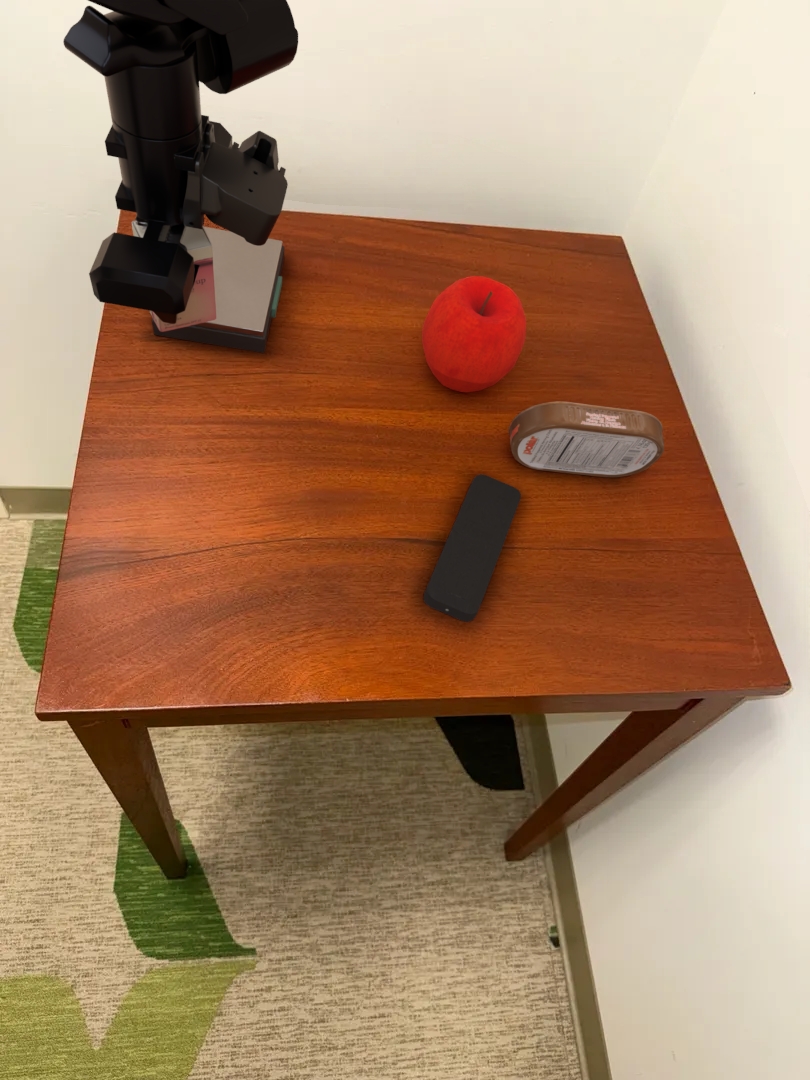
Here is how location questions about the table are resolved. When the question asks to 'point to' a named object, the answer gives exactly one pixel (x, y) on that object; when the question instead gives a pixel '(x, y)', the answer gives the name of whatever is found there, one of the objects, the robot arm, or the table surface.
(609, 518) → the table surface
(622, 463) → the tin
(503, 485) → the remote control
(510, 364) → the apple
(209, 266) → the small box
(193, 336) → the scale
